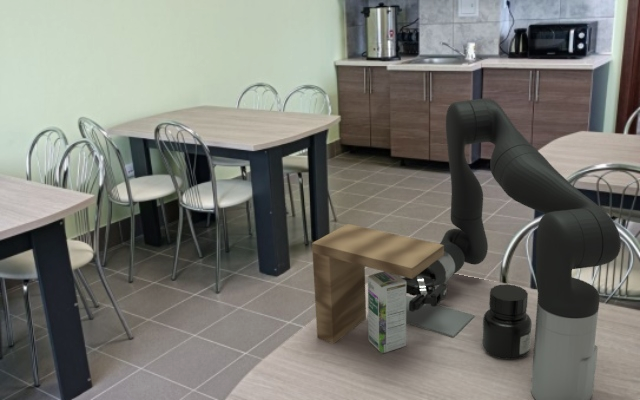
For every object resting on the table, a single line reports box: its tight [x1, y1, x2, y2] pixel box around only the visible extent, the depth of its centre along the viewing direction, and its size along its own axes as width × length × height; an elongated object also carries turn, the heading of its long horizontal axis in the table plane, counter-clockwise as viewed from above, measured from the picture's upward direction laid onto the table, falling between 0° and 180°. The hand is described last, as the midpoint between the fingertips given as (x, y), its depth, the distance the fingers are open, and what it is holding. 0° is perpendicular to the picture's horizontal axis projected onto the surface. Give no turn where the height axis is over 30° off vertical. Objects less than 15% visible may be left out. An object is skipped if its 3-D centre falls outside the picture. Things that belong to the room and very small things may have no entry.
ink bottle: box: [481, 284, 533, 360], centre depth 118 cm, size 10×9×12 cm
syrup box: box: [367, 271, 407, 354], centre depth 122 cm, size 6×6×14 cm
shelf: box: [311, 223, 444, 344], centre depth 122 cm, size 22×12×21 cm, turn 53°
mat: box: [406, 295, 476, 338], centre depth 134 cm, size 20×10×1 cm, turn 53°
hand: (391, 301), depth 123 cm, fingers open, 8 cm apart
